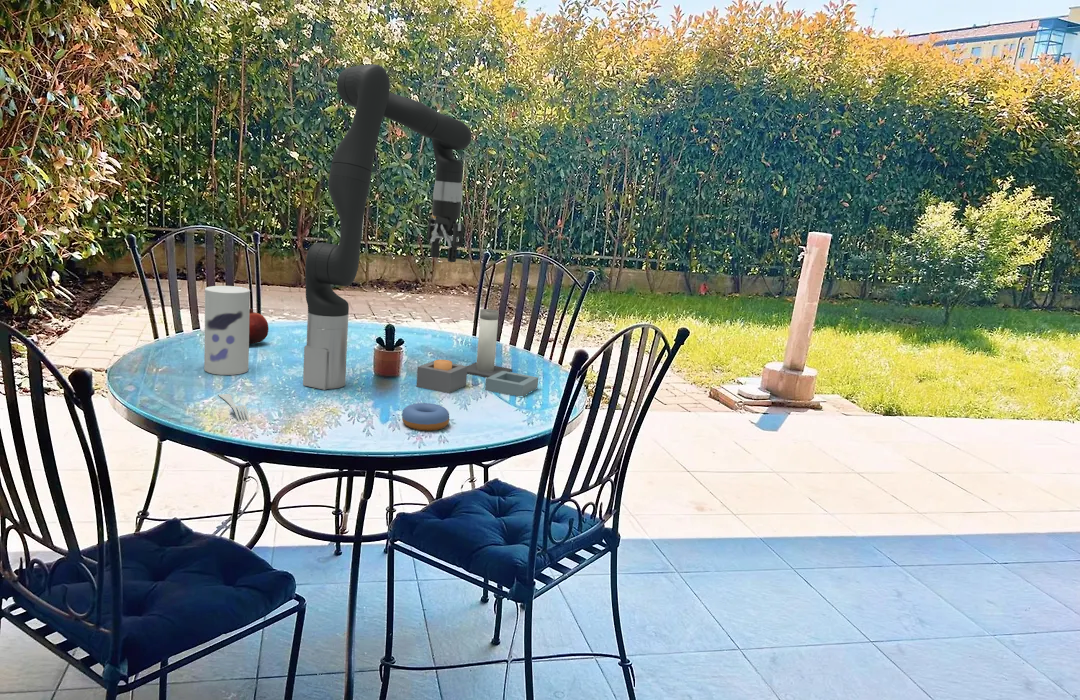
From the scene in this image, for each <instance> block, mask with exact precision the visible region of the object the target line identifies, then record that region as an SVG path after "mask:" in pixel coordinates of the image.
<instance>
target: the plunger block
mask: <svg viewBox="0 0 1080 700" xmlns="http://www.w3.org/2000/svg"><path fill="white" fill-rule="evenodd" d="M434 361H435V360H432V361H430V362H428V363H424V364H421V365H418V366H417V371H416V372H417V374H416V385H415V386H416V387H417V388H421V389H422V388H423V389H426V390H431V391H435V392H436V391H437V392H440V391H441V393H445V392H447V394H451V393H453V392H454V391H457V389H458V390H460V389H462V388H464V387H467V379H468V377H467V376H468V374H467V366H468V365H462V364H458V363H453V362H452V369H450V370H448V371H447V370H442V369H437V368H434ZM461 387H462V388H461ZM459 388H460V389H459ZM452 391H453V392H452ZM450 392H451V393H450Z"/></svg>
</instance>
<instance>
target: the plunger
mask: <svg viewBox="0 0 1080 700" xmlns="http://www.w3.org/2000/svg"><path fill="white" fill-rule="evenodd" d="M433 361H434V368H437V369H442V370H447V371H448V370H450V369H452V363H453V361H452V360H448V359H436V360H433Z"/></svg>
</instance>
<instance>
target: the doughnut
mask: <svg viewBox="0 0 1080 700" xmlns="http://www.w3.org/2000/svg"><path fill="white" fill-rule="evenodd" d="M401 420H402V423H404V425H405V426H406V427H409V428H410V429H413V430H415V431H416V430H418V431H427V432H428V431H430V432H433V431H437V430H442V429H444V428H446V427H447V425H449V423H450V412H449V411H448V410H447V408H445V406H442V405H440V404H437V403H431V402H427V403H426V402H416V403H412V404H409V405H407V406H406V407H404V408H403V409H402V412H401Z"/></svg>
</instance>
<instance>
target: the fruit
mask: <svg viewBox="0 0 1080 700" xmlns="http://www.w3.org/2000/svg"><path fill="white" fill-rule="evenodd" d="M268 334H269V323H268V320H267V319H266V317H264V315H263V314H261V313H260V312H259V313H258V312H254V309H253V308H250V314H249V345H250V344H251V345H252V344H259V343H261V342H263V341H264V340H265V339H266V338H267V336H268Z"/></svg>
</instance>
